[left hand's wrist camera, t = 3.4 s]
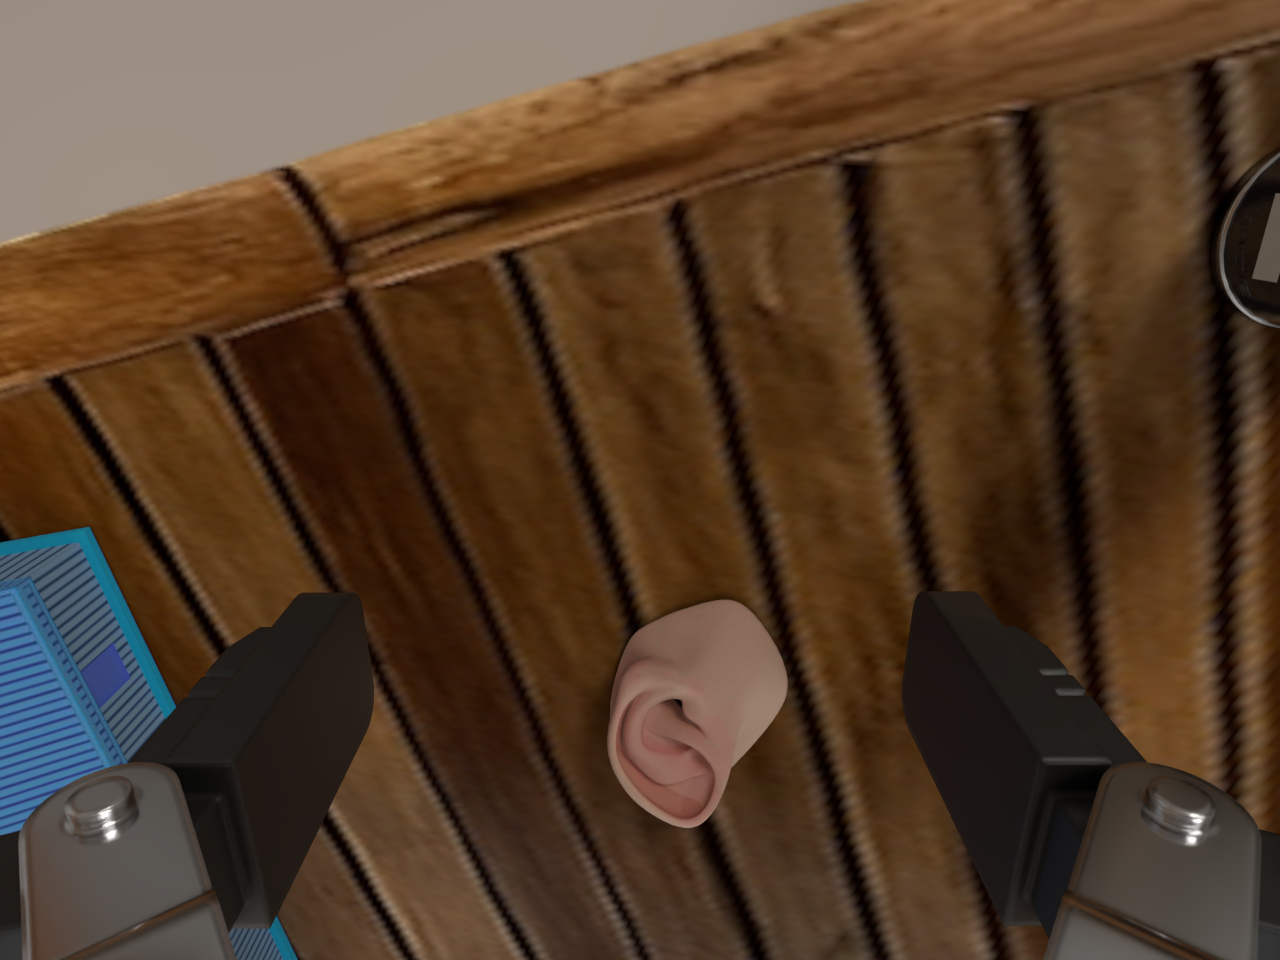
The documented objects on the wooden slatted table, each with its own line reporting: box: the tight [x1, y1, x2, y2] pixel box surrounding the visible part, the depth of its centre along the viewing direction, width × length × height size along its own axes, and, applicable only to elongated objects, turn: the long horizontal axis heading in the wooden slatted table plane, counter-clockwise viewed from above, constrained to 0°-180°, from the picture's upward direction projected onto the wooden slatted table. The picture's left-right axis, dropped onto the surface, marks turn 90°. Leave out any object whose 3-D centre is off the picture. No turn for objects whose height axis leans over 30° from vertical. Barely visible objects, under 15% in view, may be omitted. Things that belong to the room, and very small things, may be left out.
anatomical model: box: [607, 600, 788, 828], centre depth 48 cm, size 13×4×12 cm
